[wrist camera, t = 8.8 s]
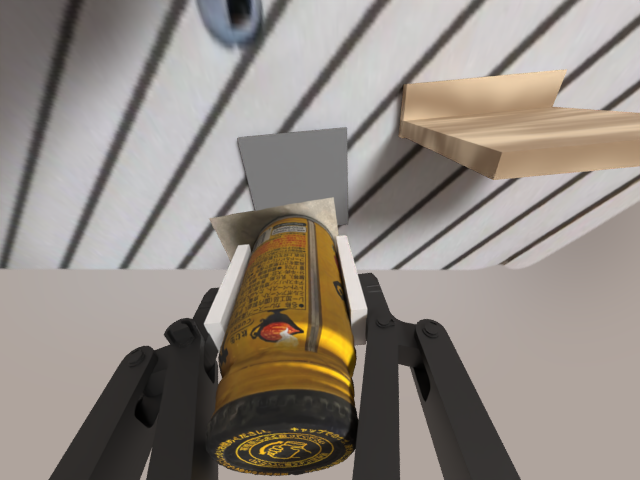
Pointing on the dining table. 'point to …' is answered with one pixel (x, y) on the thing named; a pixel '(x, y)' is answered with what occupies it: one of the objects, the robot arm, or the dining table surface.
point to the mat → (297, 168)
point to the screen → (516, 126)
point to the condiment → (285, 347)
